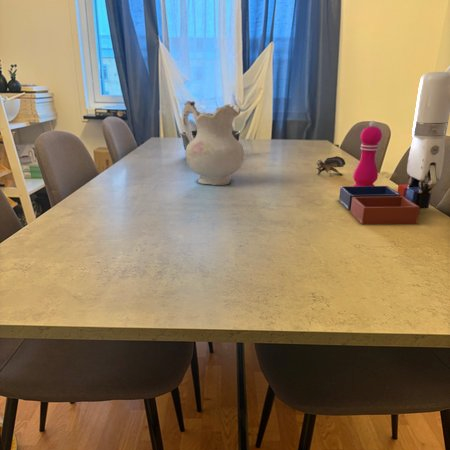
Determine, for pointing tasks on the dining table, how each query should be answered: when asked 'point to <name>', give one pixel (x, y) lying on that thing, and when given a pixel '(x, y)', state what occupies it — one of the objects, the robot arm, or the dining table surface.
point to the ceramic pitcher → (213, 144)
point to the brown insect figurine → (330, 164)
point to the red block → (402, 189)
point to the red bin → (384, 210)
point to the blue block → (413, 194)
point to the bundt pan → (194, 133)
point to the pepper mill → (368, 156)
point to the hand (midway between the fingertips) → (416, 204)
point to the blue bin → (363, 193)
